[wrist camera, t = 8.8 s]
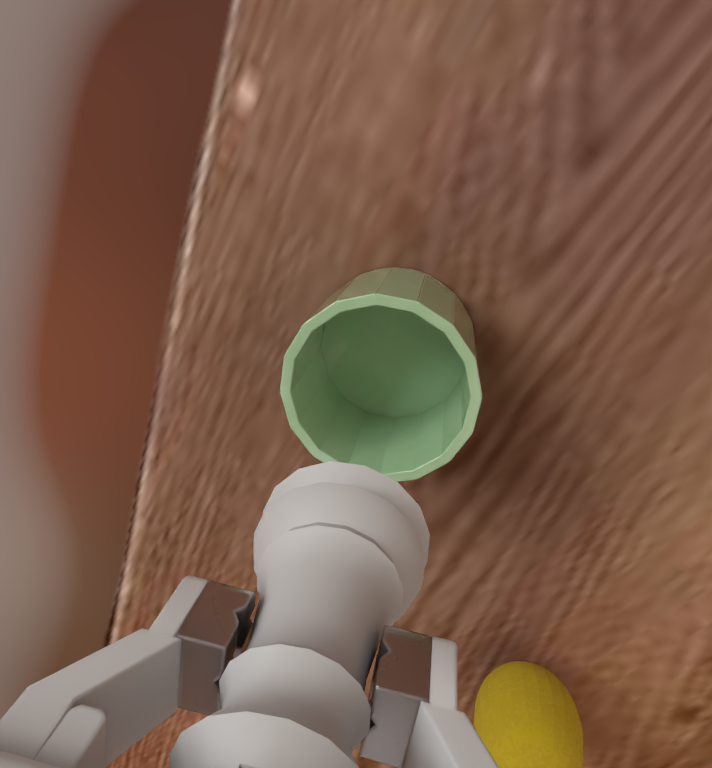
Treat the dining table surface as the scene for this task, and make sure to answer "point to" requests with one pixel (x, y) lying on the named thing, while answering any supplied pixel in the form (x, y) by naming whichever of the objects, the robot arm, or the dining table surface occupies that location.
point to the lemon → (528, 718)
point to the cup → (385, 375)
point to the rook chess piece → (314, 622)
